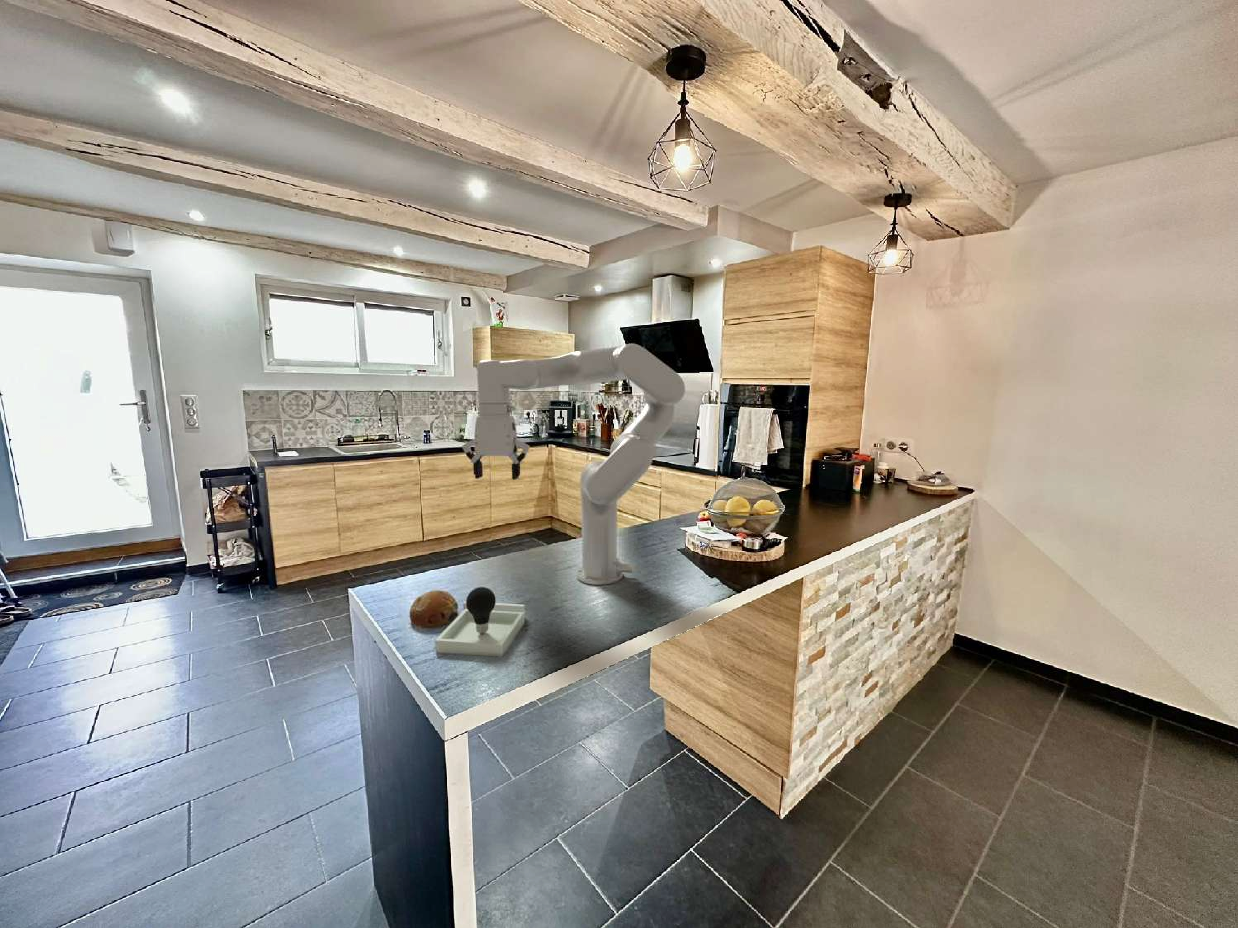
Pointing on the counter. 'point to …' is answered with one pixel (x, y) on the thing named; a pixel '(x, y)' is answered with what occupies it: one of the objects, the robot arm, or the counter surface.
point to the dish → (469, 641)
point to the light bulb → (481, 607)
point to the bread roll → (433, 609)
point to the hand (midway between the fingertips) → (497, 478)
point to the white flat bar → (505, 607)
